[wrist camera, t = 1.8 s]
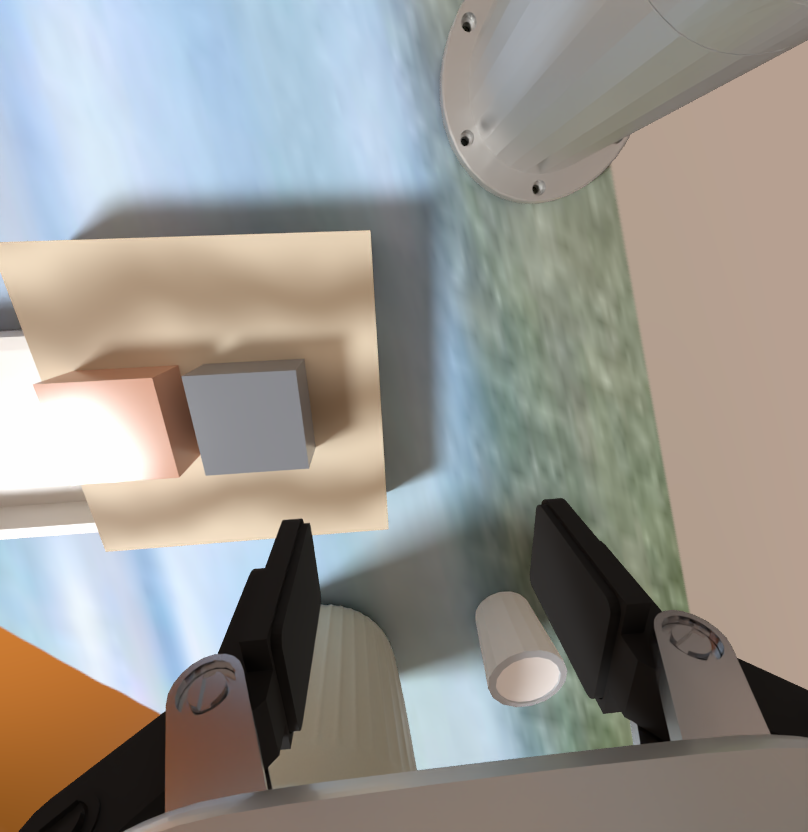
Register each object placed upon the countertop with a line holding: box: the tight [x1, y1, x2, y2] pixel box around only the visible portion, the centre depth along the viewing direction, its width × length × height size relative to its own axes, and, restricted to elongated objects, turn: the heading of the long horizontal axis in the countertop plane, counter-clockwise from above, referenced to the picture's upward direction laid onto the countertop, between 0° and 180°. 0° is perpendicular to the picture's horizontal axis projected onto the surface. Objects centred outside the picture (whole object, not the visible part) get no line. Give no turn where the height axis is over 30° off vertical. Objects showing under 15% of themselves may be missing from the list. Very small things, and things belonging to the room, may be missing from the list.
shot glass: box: [475, 591, 567, 707], centre depth 36 cm, size 7×7×7 cm
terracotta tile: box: [33, 365, 200, 485], centre depth 23 cm, size 6×6×3 cm
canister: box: [269, 604, 417, 789], centre depth 29 cm, size 18×18×21 cm
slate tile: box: [181, 359, 316, 476], centre depth 23 cm, size 6×6×3 cm
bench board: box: [0, 230, 388, 552], centre depth 27 cm, size 20×20×5 cm
